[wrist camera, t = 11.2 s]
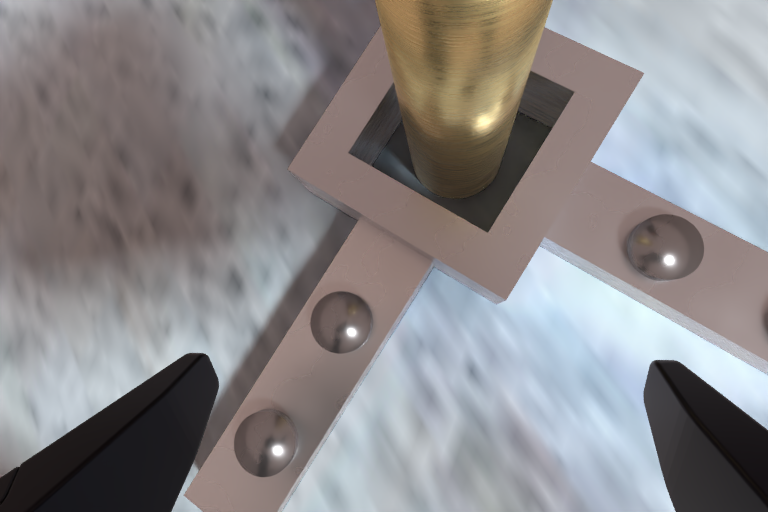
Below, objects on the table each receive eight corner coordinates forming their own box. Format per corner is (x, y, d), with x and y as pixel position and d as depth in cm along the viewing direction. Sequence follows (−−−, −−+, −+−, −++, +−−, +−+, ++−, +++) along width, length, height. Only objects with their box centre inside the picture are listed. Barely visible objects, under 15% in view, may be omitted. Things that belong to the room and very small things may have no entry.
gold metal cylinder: (471, 214, 18) (516, -11, 6) (395, 171, 19) (297, -109, 7) (518, 139, 18) (655, -229, 6) (441, 99, 19) (427, -302, 7)
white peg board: (634, 825, 15) (680, 952, 12) (152, 439, 19) (97, 460, 16) (939, 272, 16) (1052, 260, 13) (422, 21, 20) (417, -32, 17)
